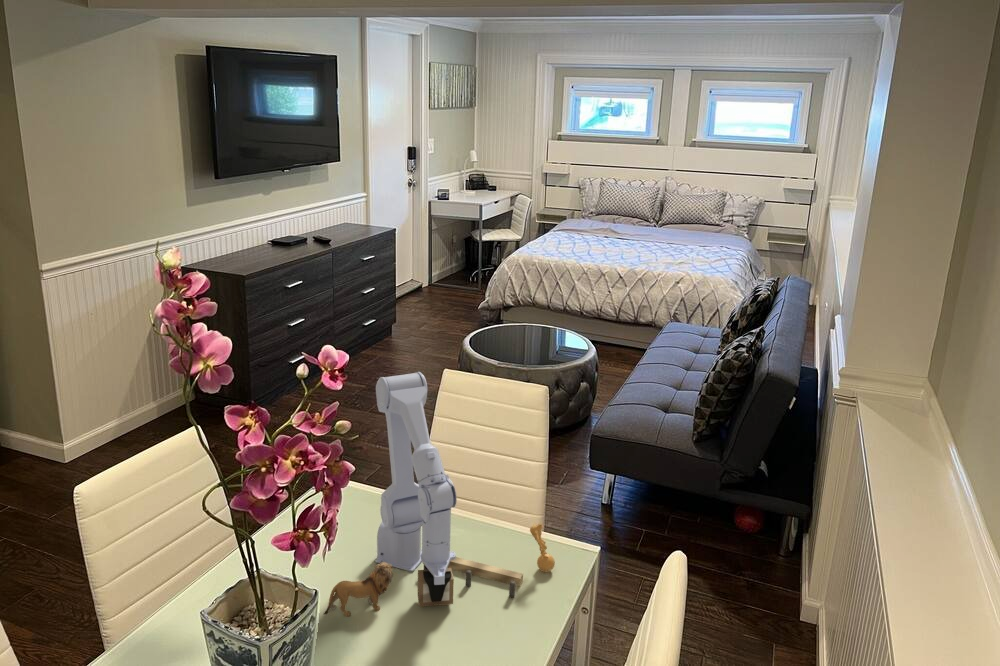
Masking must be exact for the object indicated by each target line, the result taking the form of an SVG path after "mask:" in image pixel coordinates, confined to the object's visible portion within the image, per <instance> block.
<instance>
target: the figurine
mask: <svg viewBox="0 0 1000 666" xmlns="http://www.w3.org/2000/svg"><path fill="white" fill-rule="evenodd" d="M543 528H544V525H543V524H542V523H538V524H536V525H535V524H533V525H532V526H531V527H530V528H529V531H530V534H531V536H532V537H533V538H534V540H535V541H536V542H537V545H538V546H539V551H540V555H539V556H538V558H537V560H536V564H537V565H536V566H537V567H538V568H537V569H539V570H540V571H541V572H544V573H548V572H551V571H552V570H554V568H555V564H556V563H555V562H556V561H555V558H554V557H553V555H551V554H549V553H548V552H546V550H547V548H548V546H547V545H546V541H544V539H543V538H542V535H543V534H542V529H543Z"/></svg>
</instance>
